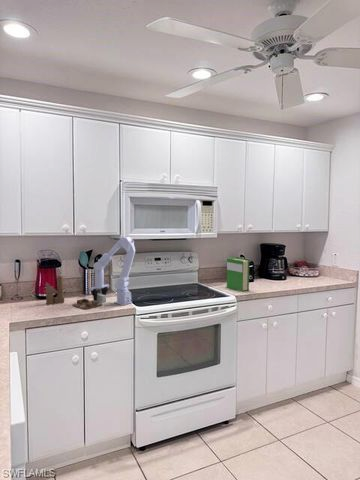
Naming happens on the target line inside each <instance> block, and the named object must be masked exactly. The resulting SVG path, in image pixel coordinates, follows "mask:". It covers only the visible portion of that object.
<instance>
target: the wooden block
mask: <svg viewBox="0 0 360 480" xmlns="http://www.w3.org/2000/svg"><path fill="white" fill-rule="evenodd" d="M56 277H57V290H56V289H55V288H54V287H53V286H51V285H50V284H49V283H48V282H45V293H46V294H45V295H46V296H45V303H46V305H48V306H49V305H54V304H55V305H57V304H64V303H65V297H64V275H61V274H59V275H57V276H56ZM54 294H57V296H55V297H54Z"/></svg>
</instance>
